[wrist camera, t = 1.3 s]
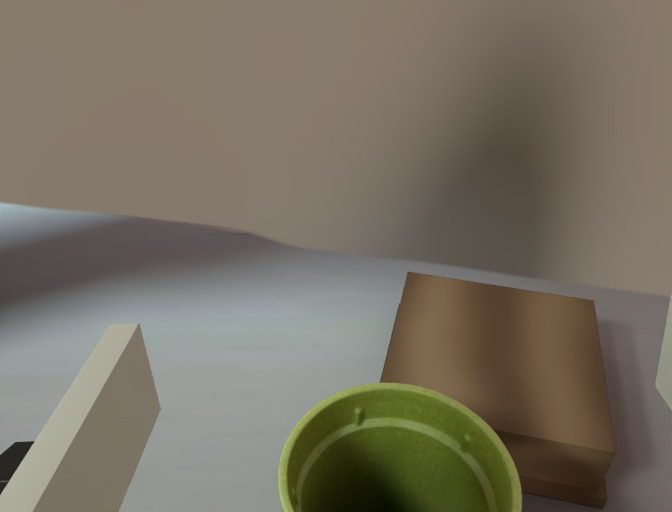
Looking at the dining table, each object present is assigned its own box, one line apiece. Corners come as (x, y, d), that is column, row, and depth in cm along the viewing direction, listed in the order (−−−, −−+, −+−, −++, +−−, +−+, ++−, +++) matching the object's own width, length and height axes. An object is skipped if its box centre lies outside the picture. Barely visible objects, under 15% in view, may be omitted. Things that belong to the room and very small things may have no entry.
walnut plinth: (363, 458, 36) (366, 410, 33) (398, 311, 46) (402, 267, 43) (602, 508, 33) (624, 461, 31) (584, 343, 43) (599, 297, 41)
